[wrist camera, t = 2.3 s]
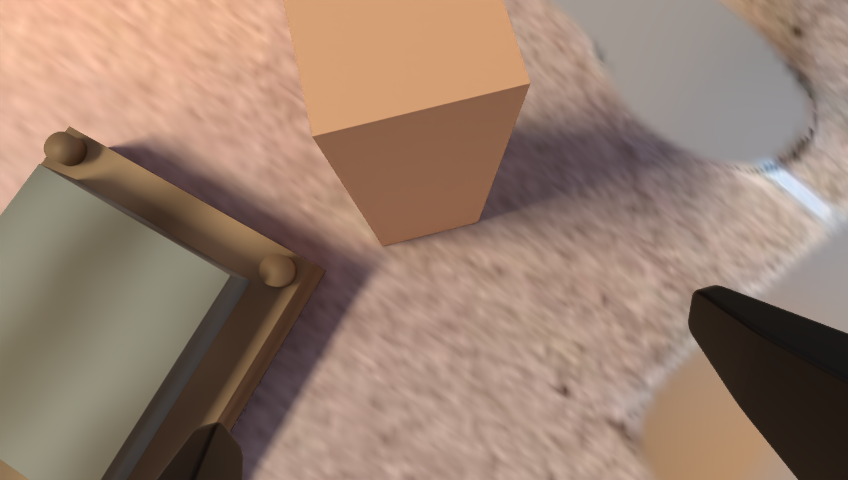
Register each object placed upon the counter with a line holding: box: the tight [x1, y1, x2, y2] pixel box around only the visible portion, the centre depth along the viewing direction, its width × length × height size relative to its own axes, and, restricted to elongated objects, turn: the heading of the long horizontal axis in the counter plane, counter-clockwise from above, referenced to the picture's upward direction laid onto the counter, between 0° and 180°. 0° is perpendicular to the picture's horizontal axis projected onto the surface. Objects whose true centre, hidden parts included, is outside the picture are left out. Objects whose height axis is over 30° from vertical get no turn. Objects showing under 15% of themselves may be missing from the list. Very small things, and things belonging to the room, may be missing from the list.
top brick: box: [283, 0, 530, 246], centre depth 17 cm, size 5×5×13 cm
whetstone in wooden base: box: [0, 126, 325, 480], centre depth 20 cm, size 14×14×4 cm
